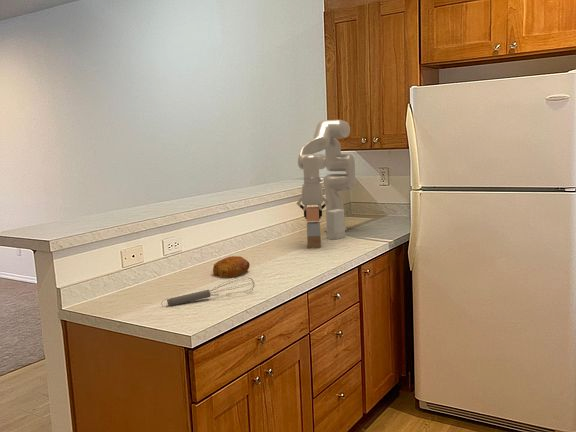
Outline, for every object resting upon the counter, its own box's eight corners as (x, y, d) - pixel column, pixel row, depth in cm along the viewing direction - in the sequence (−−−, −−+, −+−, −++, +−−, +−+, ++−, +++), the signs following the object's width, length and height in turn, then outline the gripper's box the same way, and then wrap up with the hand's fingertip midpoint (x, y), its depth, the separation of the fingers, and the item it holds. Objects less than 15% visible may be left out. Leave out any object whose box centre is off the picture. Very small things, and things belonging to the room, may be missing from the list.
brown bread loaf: (255, 275, 240) (256, 256, 240) (233, 279, 227) (234, 259, 227) (227, 271, 248) (228, 253, 247) (204, 275, 234) (205, 255, 234)
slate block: (308, 233, 284) (307, 221, 283) (320, 233, 283) (319, 221, 282) (307, 236, 278) (306, 224, 277) (319, 235, 277) (319, 223, 276)
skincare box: (337, 236, 306) (336, 208, 303) (345, 237, 301) (345, 209, 299) (326, 238, 300) (325, 210, 298) (334, 240, 296) (333, 211, 294)
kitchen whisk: (159, 305, 199) (158, 287, 198) (251, 290, 212) (251, 273, 211) (163, 310, 193) (162, 291, 192) (257, 294, 206) (257, 277, 205)
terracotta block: (307, 219, 283) (307, 207, 282) (319, 218, 282) (319, 206, 281) (306, 221, 277) (306, 208, 276) (319, 220, 276) (318, 208, 275)
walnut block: (308, 245, 285) (308, 233, 284) (320, 245, 284) (320, 233, 283) (307, 248, 279) (307, 236, 278) (320, 248, 278) (319, 235, 277)
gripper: (330, 179, 279) (331, 216, 282) (294, 181, 281) (296, 217, 284) (329, 181, 272) (330, 219, 275) (293, 182, 274) (294, 220, 277)
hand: (313, 217), depth 279 cm, fingers closed on terracotta block, 6 cm apart
